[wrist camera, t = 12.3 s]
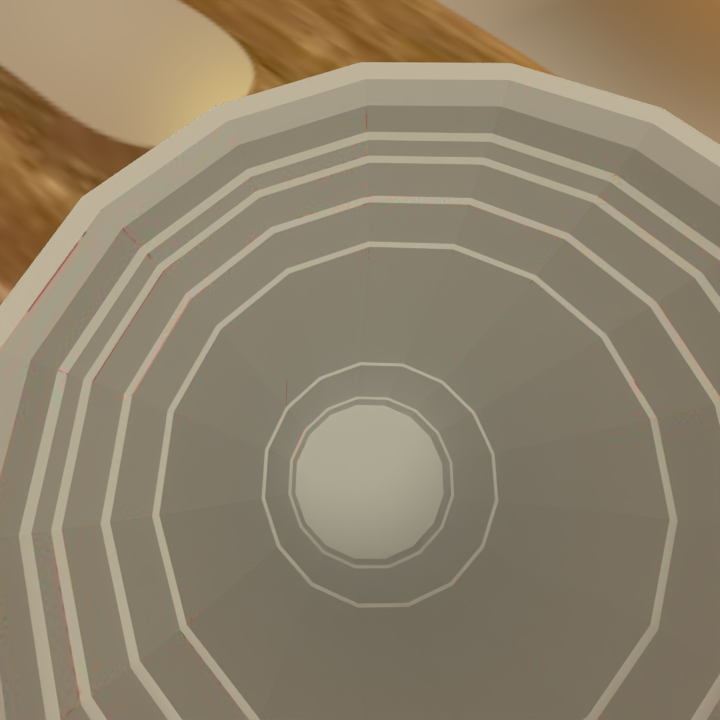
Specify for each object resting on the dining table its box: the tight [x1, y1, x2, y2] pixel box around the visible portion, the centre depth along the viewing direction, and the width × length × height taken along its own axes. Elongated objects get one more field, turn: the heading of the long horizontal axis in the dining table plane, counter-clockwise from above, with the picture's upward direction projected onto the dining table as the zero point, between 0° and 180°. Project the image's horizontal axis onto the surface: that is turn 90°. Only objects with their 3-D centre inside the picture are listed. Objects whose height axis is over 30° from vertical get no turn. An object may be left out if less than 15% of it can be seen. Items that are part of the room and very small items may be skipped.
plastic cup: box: [0, 62, 720, 720], centre depth 10 cm, size 11×11×12 cm
